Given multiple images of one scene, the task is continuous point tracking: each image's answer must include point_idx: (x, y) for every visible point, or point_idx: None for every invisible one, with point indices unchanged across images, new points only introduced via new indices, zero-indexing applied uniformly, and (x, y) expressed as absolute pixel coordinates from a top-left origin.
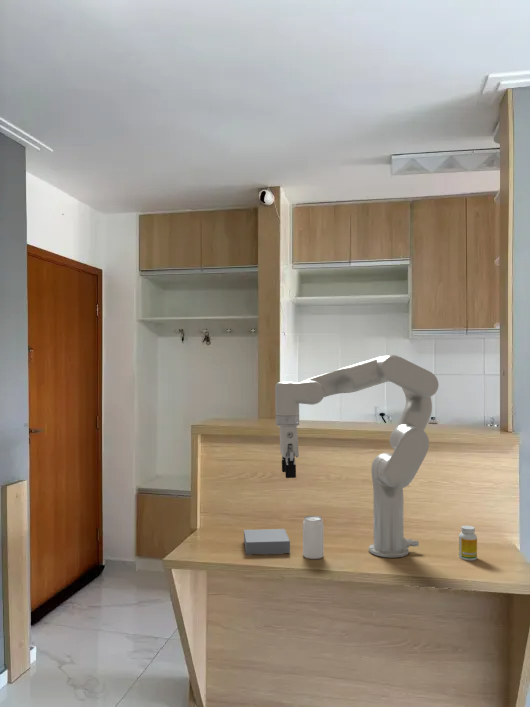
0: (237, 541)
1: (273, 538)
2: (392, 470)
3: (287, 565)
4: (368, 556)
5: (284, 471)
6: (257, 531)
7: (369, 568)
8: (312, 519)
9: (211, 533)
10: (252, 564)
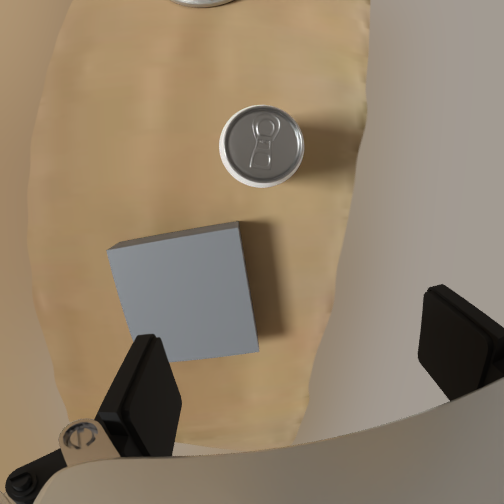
0: None
1: (213, 280)
2: None
3: (334, 225)
4: (246, 11)
5: (178, 391)
6: (148, 329)
7: (339, 25)
8: (271, 147)
9: None
10: (326, 312)
